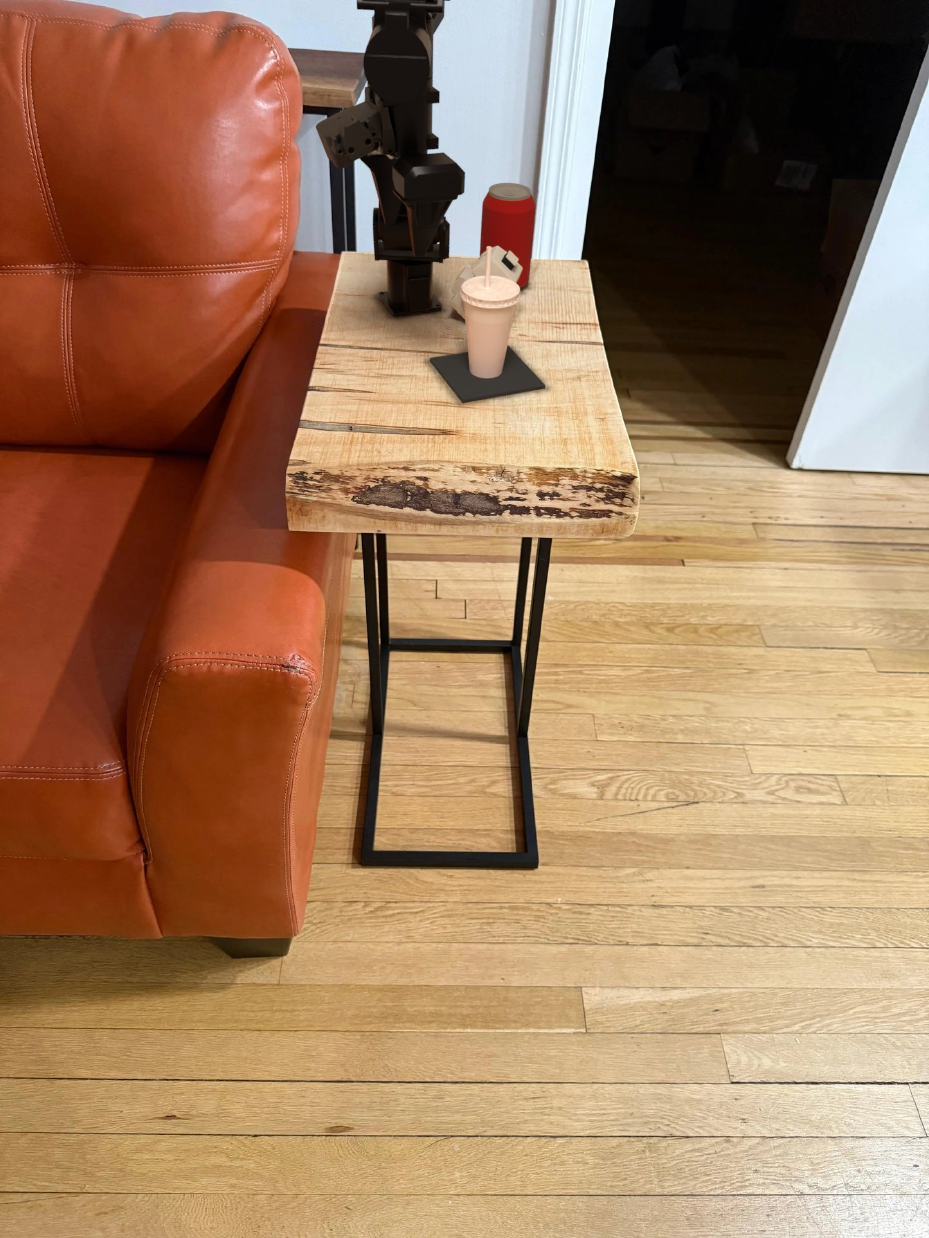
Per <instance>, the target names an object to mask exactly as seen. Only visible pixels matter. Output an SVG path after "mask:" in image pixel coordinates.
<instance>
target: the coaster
mask: <svg viewBox="0 0 929 1238" xmlns="http://www.w3.org/2000/svg"><path fill="white" fill-rule="evenodd" d="M429 362H430V363H431V364H432V366H433V367H434V368H435V370H436V371H437V372H438V373H439V375H440V376H441V377H442V379H443V380H444V381H445V382H446V384H447V385H448V387H450V389H451V390H452V391H453V393H454V394H455V395H456V397H457V398H458V399H459V400H460V401H461V403H469V402H475V401H480V400H486V399H492V398H499V397H503V396H509V395H513V394H514V395H516V394H521V393H527V392H532V391H537V390H542V389H546V384H545V383H544V382H543V381H542V380H541V379H540V378H539V377H538V375H536V373H535V372H534V371H533V370H532V369H531V368H530V367H529V366H528V365H527V364H526V363H525V361H524V360H523V359H522V358H520V356H519V355H518V354H517V353H516V352H515V350H513V348H512V347H511V346H510V345H507V350H506V355H505V360H504V364H503V369H502V373H501V374H500V375H499V376H497V377H494V378H480V377H477V376H474V375H473V374H472V373H471V372H470V368H469V356H468V351H464V352H459V353H452V354H446V355H439V356H434V357H430V358H429Z"/></svg>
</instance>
